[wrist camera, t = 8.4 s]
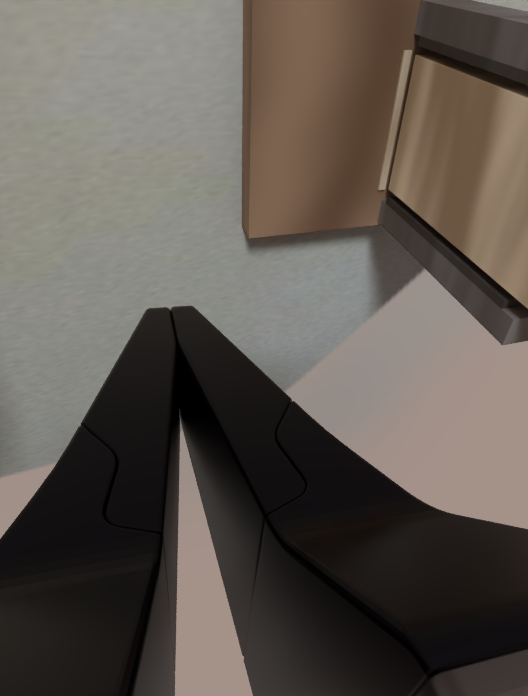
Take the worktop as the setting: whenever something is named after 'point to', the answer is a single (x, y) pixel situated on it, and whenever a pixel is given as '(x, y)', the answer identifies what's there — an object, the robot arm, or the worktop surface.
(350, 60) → the wooden phone stand
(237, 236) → the worktop surface
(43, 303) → the worktop surface
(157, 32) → the worktop surface
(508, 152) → the curved wooden panel
